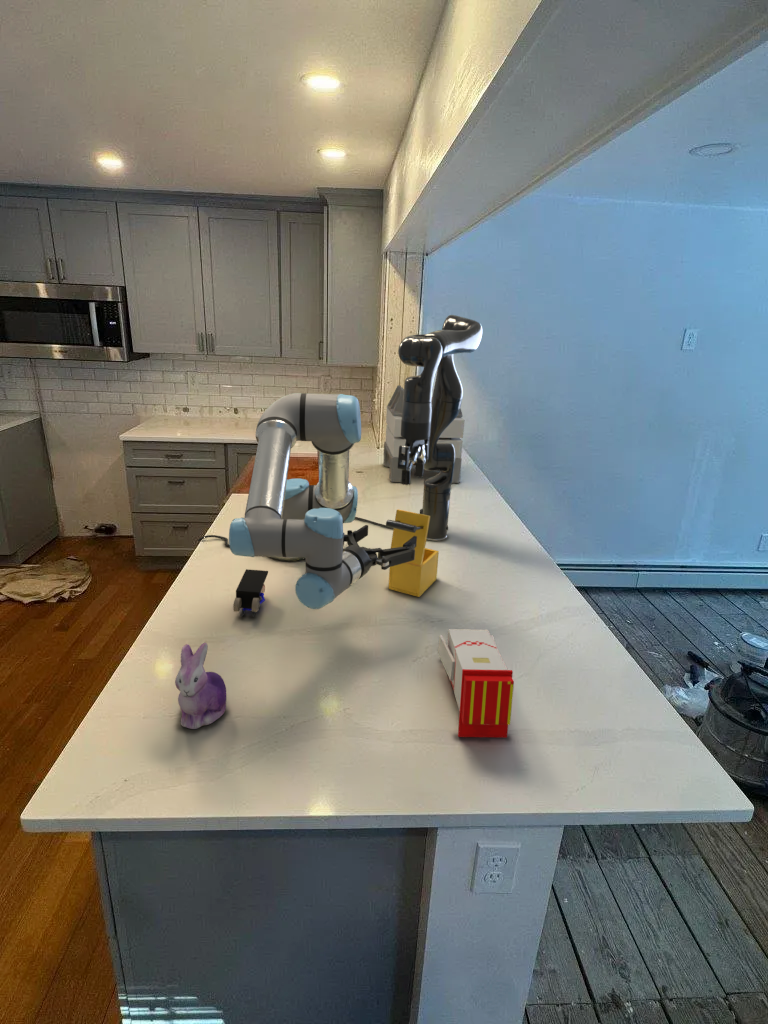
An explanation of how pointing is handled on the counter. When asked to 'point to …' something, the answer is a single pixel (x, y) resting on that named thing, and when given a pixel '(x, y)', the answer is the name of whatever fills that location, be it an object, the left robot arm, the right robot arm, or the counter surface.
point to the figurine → (199, 690)
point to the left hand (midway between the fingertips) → (390, 535)
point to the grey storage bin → (395, 439)
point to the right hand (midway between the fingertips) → (412, 480)
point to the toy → (478, 682)
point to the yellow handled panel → (410, 531)
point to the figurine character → (250, 591)
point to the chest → (414, 574)
